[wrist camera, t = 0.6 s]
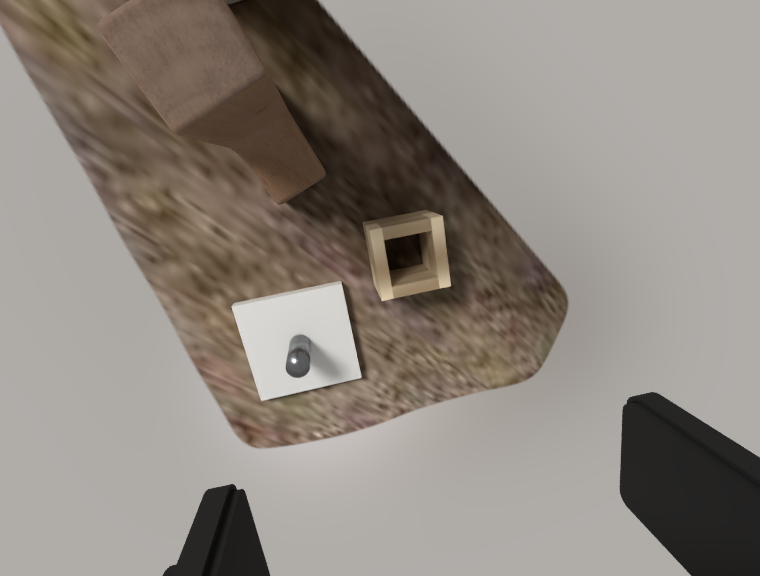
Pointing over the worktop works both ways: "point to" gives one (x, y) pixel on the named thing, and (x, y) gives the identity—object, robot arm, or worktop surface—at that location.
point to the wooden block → (212, 86)
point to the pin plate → (292, 320)
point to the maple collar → (413, 277)
